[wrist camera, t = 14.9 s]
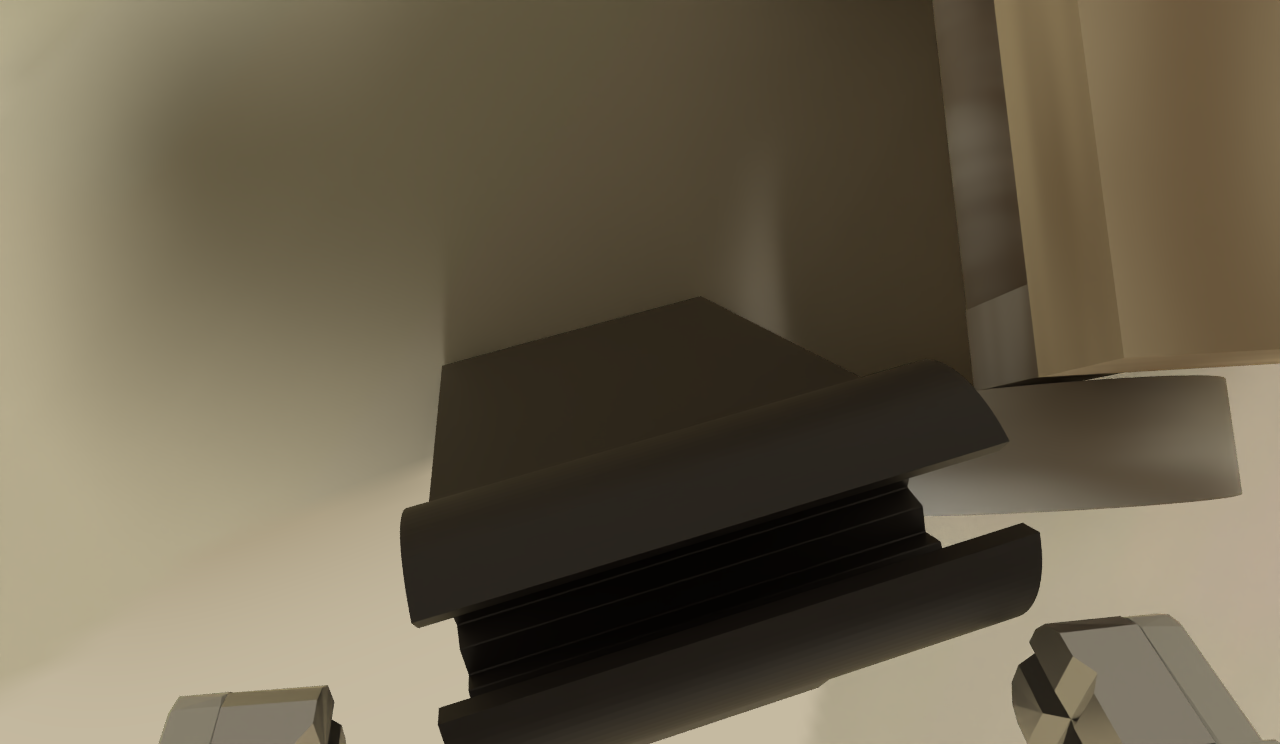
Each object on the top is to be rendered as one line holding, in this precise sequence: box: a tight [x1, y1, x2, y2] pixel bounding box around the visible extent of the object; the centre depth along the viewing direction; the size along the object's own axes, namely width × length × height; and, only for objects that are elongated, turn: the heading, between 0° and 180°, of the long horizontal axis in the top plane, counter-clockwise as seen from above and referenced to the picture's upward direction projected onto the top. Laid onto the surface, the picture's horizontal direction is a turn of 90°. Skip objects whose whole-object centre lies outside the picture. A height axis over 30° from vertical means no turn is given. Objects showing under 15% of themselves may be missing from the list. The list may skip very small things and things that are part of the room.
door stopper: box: [400, 296, 1042, 744], centre depth 15 cm, size 9×6×12 cm, turn 16°
